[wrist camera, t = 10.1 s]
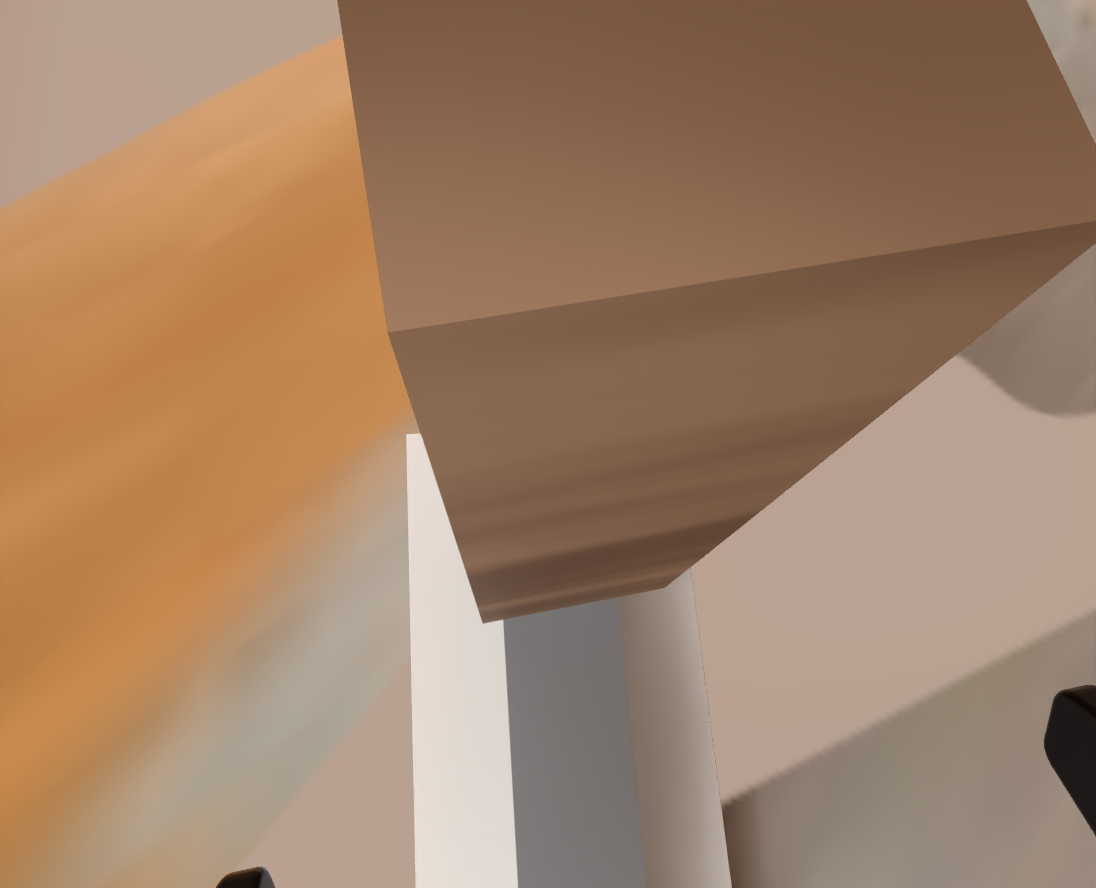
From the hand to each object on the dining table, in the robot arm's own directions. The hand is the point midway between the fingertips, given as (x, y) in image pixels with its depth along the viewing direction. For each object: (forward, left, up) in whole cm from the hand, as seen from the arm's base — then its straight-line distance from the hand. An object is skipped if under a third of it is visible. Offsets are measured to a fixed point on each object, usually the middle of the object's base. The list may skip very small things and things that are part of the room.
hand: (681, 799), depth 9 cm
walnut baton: (+5, +1, -8) cm, 9 cm away
